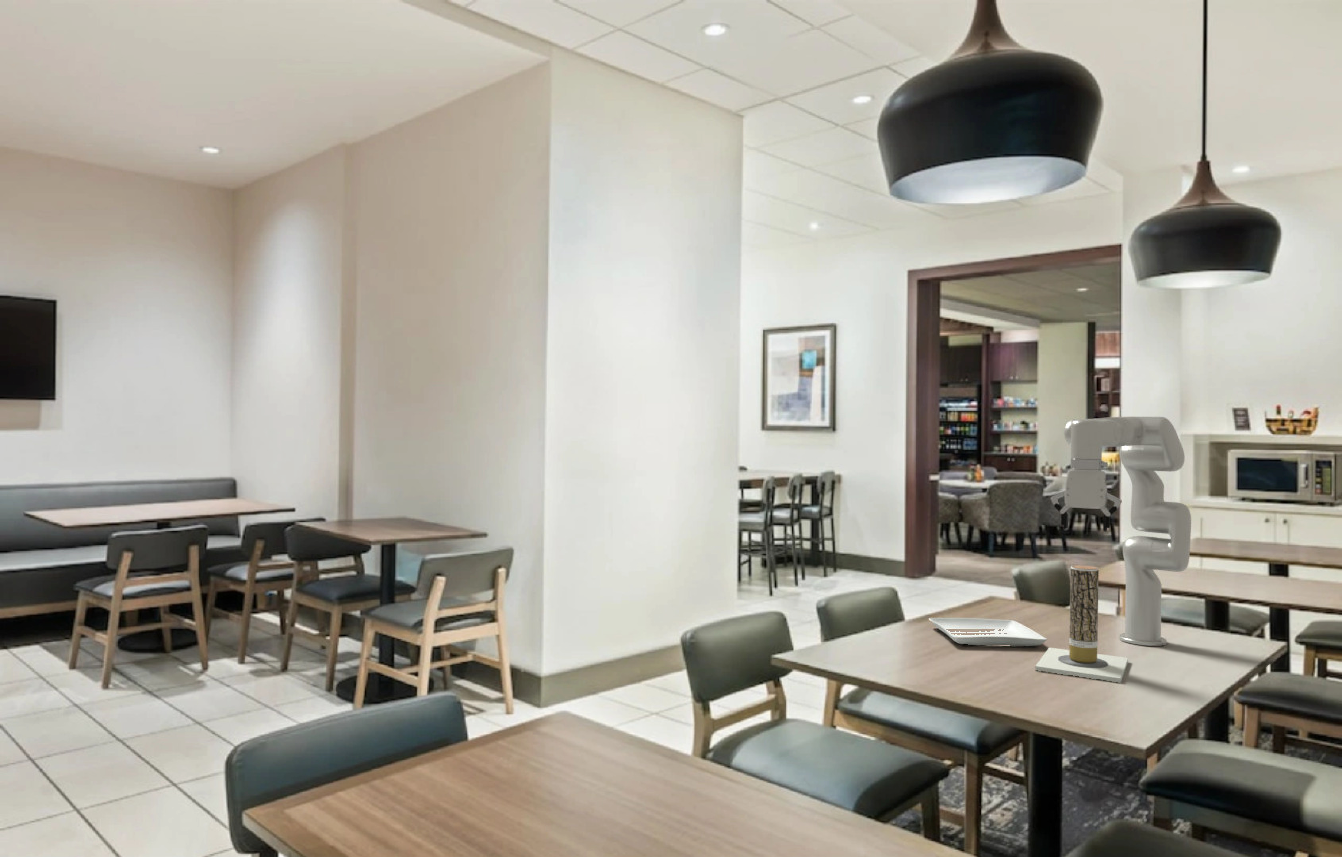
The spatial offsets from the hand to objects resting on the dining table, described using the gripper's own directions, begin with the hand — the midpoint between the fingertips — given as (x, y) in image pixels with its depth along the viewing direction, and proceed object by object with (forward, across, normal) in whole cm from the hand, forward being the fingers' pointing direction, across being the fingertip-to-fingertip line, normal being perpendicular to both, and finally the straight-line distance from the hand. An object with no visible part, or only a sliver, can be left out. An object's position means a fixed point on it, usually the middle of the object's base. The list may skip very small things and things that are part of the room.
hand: (1085, 529), depth 236 cm
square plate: (+37, +29, -18) cm, 51 cm away
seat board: (+36, 0, 0) cm, 37 cm away
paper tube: (+35, 0, 0) cm, 35 cm away
